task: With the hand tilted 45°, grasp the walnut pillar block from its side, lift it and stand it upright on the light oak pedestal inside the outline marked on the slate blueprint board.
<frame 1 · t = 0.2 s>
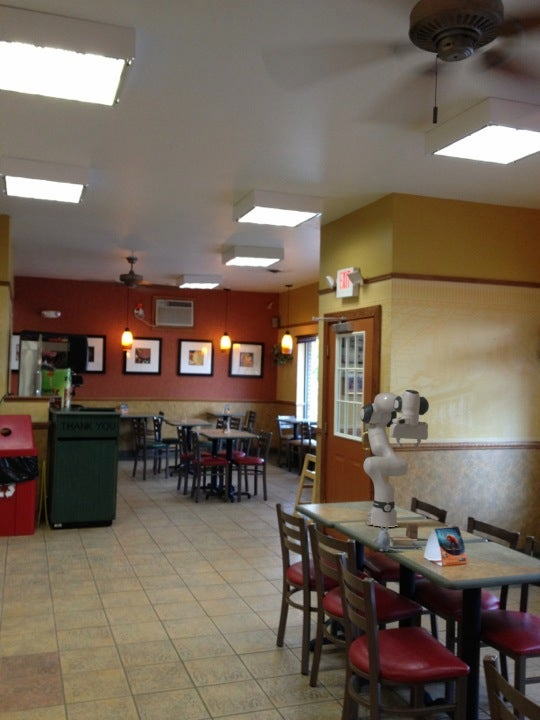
hand: (408, 447, 346), 47 cm above the table, tool pointing down, fingers open, 8 cm apart
walnut pillar: (411, 539, 344), on the table
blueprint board: (400, 545, 330), on the table
toy figure: (383, 551, 316), on the table
oak pedestal: (398, 545, 329), resting on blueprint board
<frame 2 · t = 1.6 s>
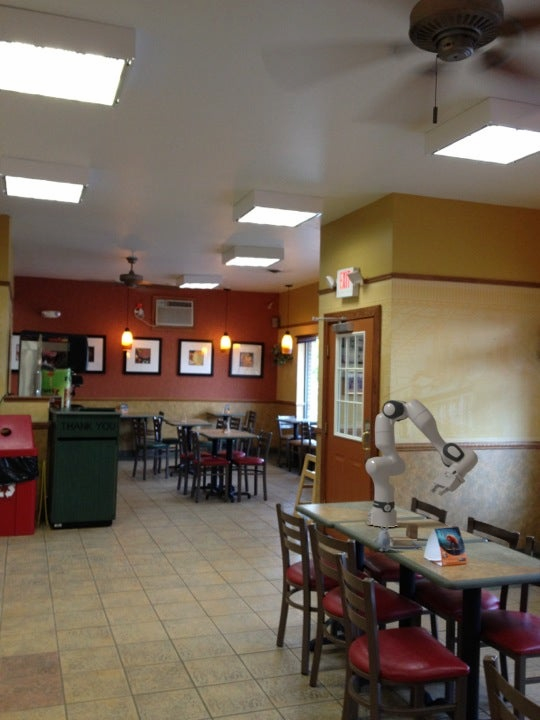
hand: (435, 493, 347), 24 cm above the table, tool tilted 45°, fingers open, 8 cm apart
nothing on the table moved.
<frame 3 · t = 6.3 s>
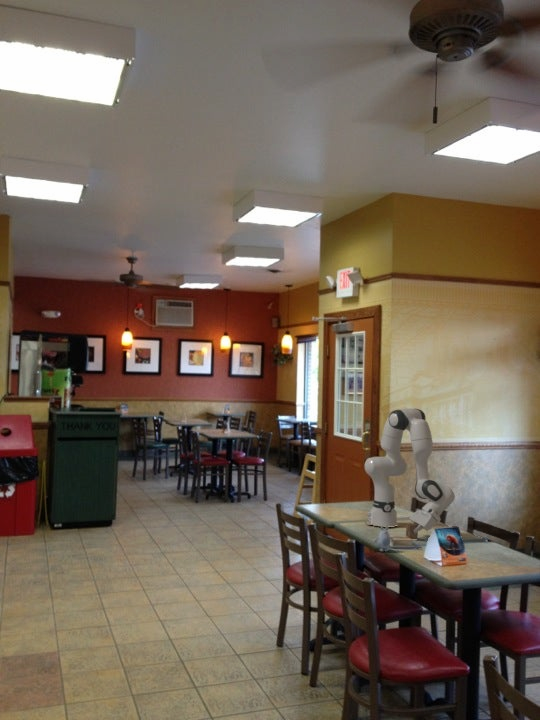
hand: (411, 531, 344), 4 cm above the table, tool tilted 45°, fingers closed on walnut pillar, 4 cm apart
walnut pillar: (411, 539, 344), on the table, touching gripper
everything else where it was.
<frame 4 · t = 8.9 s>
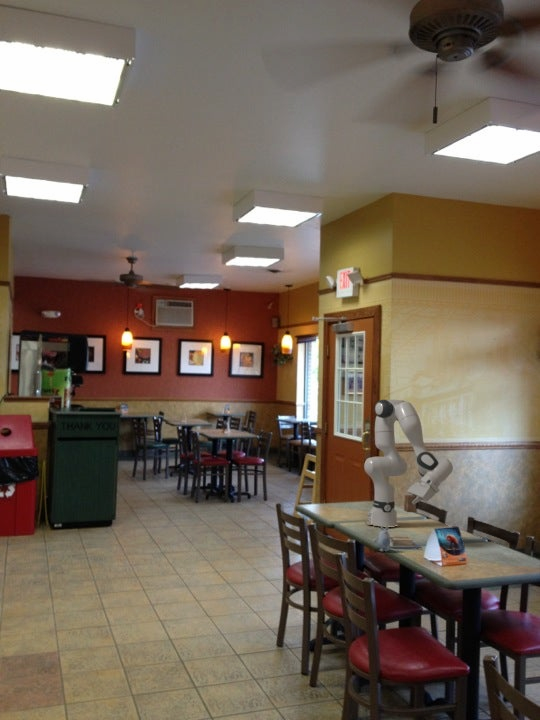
hand: (409, 502, 340), 20 cm above the table, tool tilted 45°, fingers closed on walnut pillar, 4 cm apart
walnut pillar: (409, 511, 339), point 15 cm above the table, touching gripper
everything else where it was.
when the fingers open (10 cm above the table, at t = 11.8 s): walnut pillar drops 1 cm, resting on oak pedestal.
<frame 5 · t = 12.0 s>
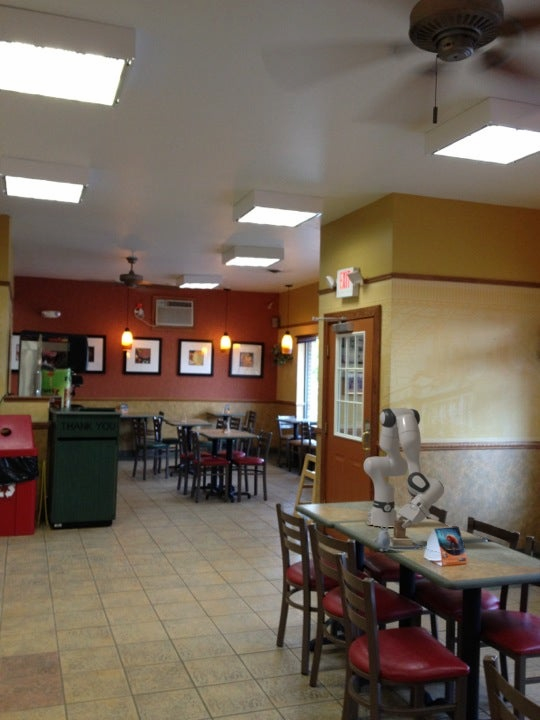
hand: (399, 525, 329), 10 cm above the table, tool tilted 45°, fingers open, 6 cm apart
walnut pillar: (399, 537, 329), point 4 cm above the table, touching oak pedestal
everything else where it was.
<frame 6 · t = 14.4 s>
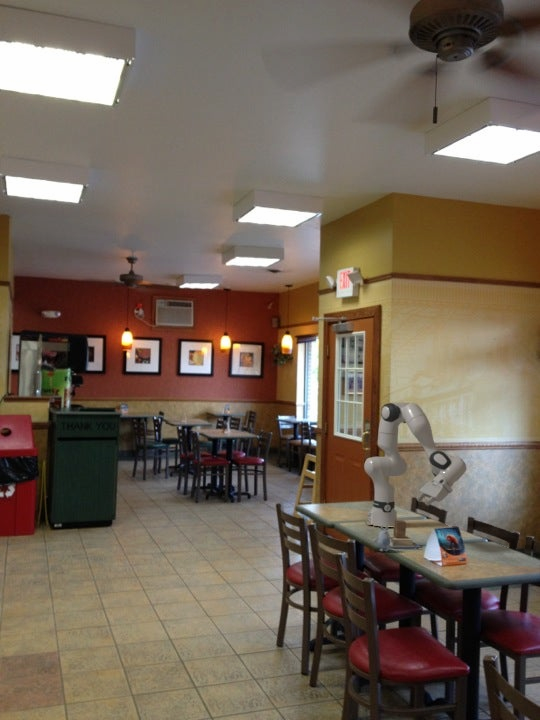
hand: (422, 502, 332), 21 cm above the table, tool tilted 45°, fingers open, 8 cm apart
nothing on the table moved.
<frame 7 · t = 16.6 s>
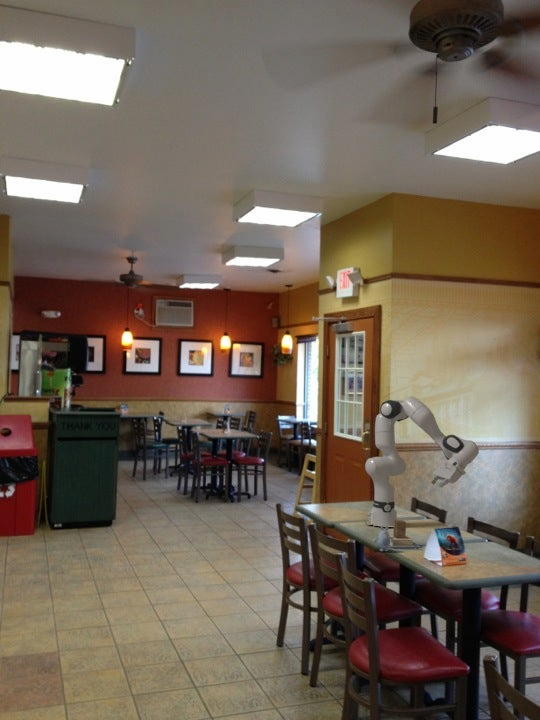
hand: (435, 485, 341), 29 cm above the table, tool tilted 45°, fingers open, 8 cm apart
nothing on the table moved.
at the end: walnut pillar 0.1 cm off-centre on the oak pedestal, point 4.0 cm above the oak pedestal's base; walnut pillar tilted 0°; the gripper is holding nothing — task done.
